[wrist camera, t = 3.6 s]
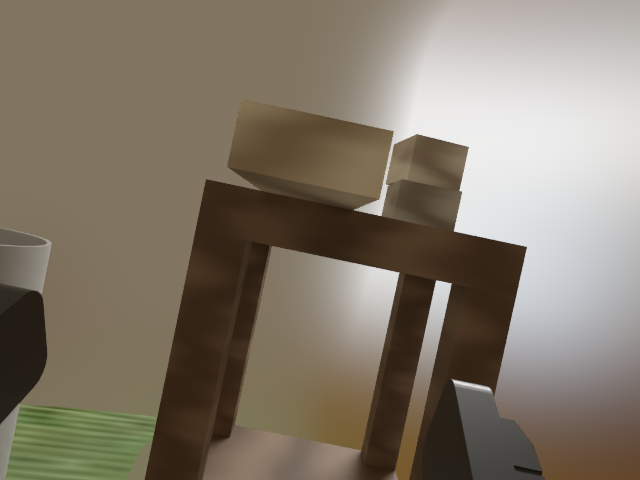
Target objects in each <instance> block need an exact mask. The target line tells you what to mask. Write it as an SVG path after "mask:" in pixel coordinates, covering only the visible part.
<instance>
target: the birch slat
mask: <svg viewBox="0 0 640 480" xmlns="http://www.w3.org/2000/svg"><path fill="white" fill-rule="evenodd" d="M392 137H393V131H389V130H385V129H380V128H375V127H371V126H366V125H361V124H357V123H352V122H347V121H343V120H338V119H333V118H329V117H324V116H319V115H314V114H310V113H306V112H301V111H296V110H292V109H286V108H282V107H278V106H273V105H268V104H263V103H259V102H254V101H250V100H245V99H241V102H240V107H239V112H238V117H237V122H236V126H235V131H234V136H233V141H232V146H231V151H230V156H229V161H228V165H227V167H228V168H230V169H231V170H232V171H234V172H235V173H237V174H238V175H240V176H241V177H242V178H244V179H245V180H247V181H248V182H250V183H251V184H253V185H254V186H255V187H257V188H258V189H260V190H261V191H264V192H269V193H273V194H278V195H283V196H288V197H292V198H297V199H302V200H306V201H311V202H316V203H321V204H325V205H330V206H335V207H340V208H344V209H349V210H354V209H357V208H359V207H361V206H364V205H366V204H369V203H371V202H374V201H376V200H378V199H379V198H380V193H381V189H382V184H383V179H384V175H385V170H386V165H387V161H388V156H389V151H390V147H391V142H392Z"/></svg>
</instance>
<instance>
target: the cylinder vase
mask: <svg viewBox="0 0 640 480" xmlns="http://www.w3.org/2000/svg"><path fill="white" fill-rule="evenodd" d="M50 249H51V242H50V241H48V240H46V239H44V238H41V237H37V236H34V235H31V234H27V233H23V232H19V231H14V230H9V229H4V228H0V283H2V284H7V285H11V286H16V287H21V288H26V289H30V290H35V291H38V292H39V293H40V294H42V290H43V285H44V280H45V275H46V270H47V264H48V259H49V254H50ZM19 406H20V403H19V404H18V405H17V406H16V408H15V409H14V410H13V411H12V412H11V413H10V414H9V415H8V417H7V418H6V419H5V420H4V421H3V422H2V423H1V424H0V480H5V477H6V472H7V467H8V462H9V457H10V452H11V447H12V442H13V437H14V431H15V426H16V421H17V416H18V411H19Z"/></svg>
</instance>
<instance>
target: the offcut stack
mask: <svg viewBox="0 0 640 480" xmlns="http://www.w3.org/2000/svg"><path fill="white" fill-rule="evenodd" d="M468 148H469V147H466V146H462V145H458V144H454V143H450V142H446V141H442V140H438V139H434V138H430V137H426V136H422V135H418V134H417V135H414V136H412V137H410V138H408V139H405V140H403V141H401V142H399V143H397V144H394V148H393V153H392V157H391V162H390V166H389V171H388V176H387V181H386V184H387V185H389V186H388V189H387V193H386V198H385V202H384V207H383V212H382V217H387V218H392V219H397V220H401V221H406V222H411V223H415V224H420V225H425V226H430V227H434V228H439V229H444V230H449V231H453V232H454V227H455V222H456V218H457V213H458V209H459V204H460V199H461V195H462V192H461V191H459V189H460V184H461V180H462V175H463V171H464V166H465V162H466V157H467V152H468Z"/></svg>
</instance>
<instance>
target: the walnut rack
mask: <svg viewBox="0 0 640 480" xmlns="http://www.w3.org/2000/svg"><path fill="white" fill-rule="evenodd" d="M272 246H275V247H280V248H285V249H290V250H295V251H299V252H305V253H309V254H314V255H319V256H324V257H329V258H333V259H338V260H342V261H348V262H352V263H357V264H362V265H367V266H371V267H376V268H381V269H386V270H390V271H395V272H400V273H399V278H398V282H397V287H396V292H395V296H394V301H393V306H392V311H391V316H390V320H389V324H388V329H387V334H386V338H385V343H384V348H383V353H382V357H381V362H380V366H379V371H378V376H377V381H376V385H375V390H374V394H373V399H372V404H371V409H370V414H369V418H368V423H367V427H366V432H365V437H364V441H363V446H362V451H360V450H355V449H350V448H345V447H340V446H335V445H330V444H325V443H320V442H315V441H310V440H306V439H301V438H295V437H291V436H286V435H281V434H276V433H271V432H266V431H261V430H256V429H250V428H246V427H241V426H236V425H235V420H236V416H237V411H238V406H239V401H240V397H241V392H242V387H243V382H244V377H245V373H246V368H247V363H248V358H249V354H250V348H251V344H252V338H253V334H254V329H255V324H256V320H257V315H258V310H259V305H260V300H261V296H262V291H263V286H264V281H265V277H266V272H267V266H268V262H269V257H270V252H271V247H272ZM526 249H527V247H524V246H520V245H515V244H510V243H505V242H501V241H496V240H491V239H487V238H482V237H477V236H472V235H468V234H463V233H458V232H453V231H449V230H444V229H439V228H434V227H430V226H425V225H420V224H415V223H411V222H406V221H401V220H397V219H392V218H387V217H382V216H377V215H373V214H368V213H363V212H359V211H354V210H349V209H344V208H340V207H335V206H330V205H325V204H321V203H316V202H311V201H306V200H302V199H297V198H292V197H288V196H283V195H278V194H273V193H269V192H264V191H259V190H254V189H249V188H245V187H240V186H235V185H231V184H226V183H221V182H216V181H211V180H207V179H206V182H205V187H204V192H203V197H202V202H201V207H200V212H199V217H198V221H197V226H196V231H195V236H194V242H193V246H192V251H191V256H190V260H189V266H188V270H187V275H186V280H185V285H184V290H183V295H182V300H181V304H180V309H179V314H178V319H177V325H176V329H175V334H174V339H173V344H172V349H171V353H170V358H169V363H168V368H167V373H166V378H165V383H164V388H163V393H162V398H161V402H160V407H159V412H158V417H157V422H156V427H155V432H154V437H153V441H152V446H151V451H150V456H149V461H148V466H147V471H146V476H145V480H398V479H397V476H396V473H395V468H396V462H397V458H398V453H399V448H400V444H401V439H402V435H403V430H404V426H405V421H406V417H407V412H408V407H409V403H410V398H411V393H412V389H413V384H414V379H415V375H416V370H417V365H418V361H419V356H420V352H421V347H422V342H423V338H424V333H425V328H426V324H427V319H428V314H429V310H430V305H431V301H432V296H433V291H434V287H435V282H436V280H438V281H443V282H448V283H452V285H451V290H450V295H449V299H448V304H447V308H446V313H445V318H444V322H443V327H442V332H441V337H440V341H439V345H438V351H437V355H436V359H435V364H434V368H433V373H432V378H431V383H430V387H429V391H428V396H427V401H426V405H425V410H424V415H423V419H422V424H421V428H420V433H419V438H418V442H417V447H416V452H415V456H414V461H413V465H412V470H411V475H410V480H423V473H422V456H423V448H424V442H425V438H426V435H427V432H428V429H429V427H430V424H431V421H432V418H433V416H434V413H435V410H436V408H437V405H438V402H439V399H440V397H441V394H442V391H443V389H444V386H445V384H446V382H447V381H448V380H449V379H454V380H458V381H463V382H468V383H473V384H477V385H482V386H487V387H489V388H490V389H491V390H492V393H493V396H494V394H495V390H496V385H497V380H498V376H499V372H500V367H501V362H502V358H503V353H504V348H505V344H506V340H507V335H508V331H509V326H510V321H511V317H512V312H513V308H514V303H515V298H516V294H517V290H518V285H519V280H520V275H521V271H522V267H523V262H524V257H525V253H526Z"/></svg>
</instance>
